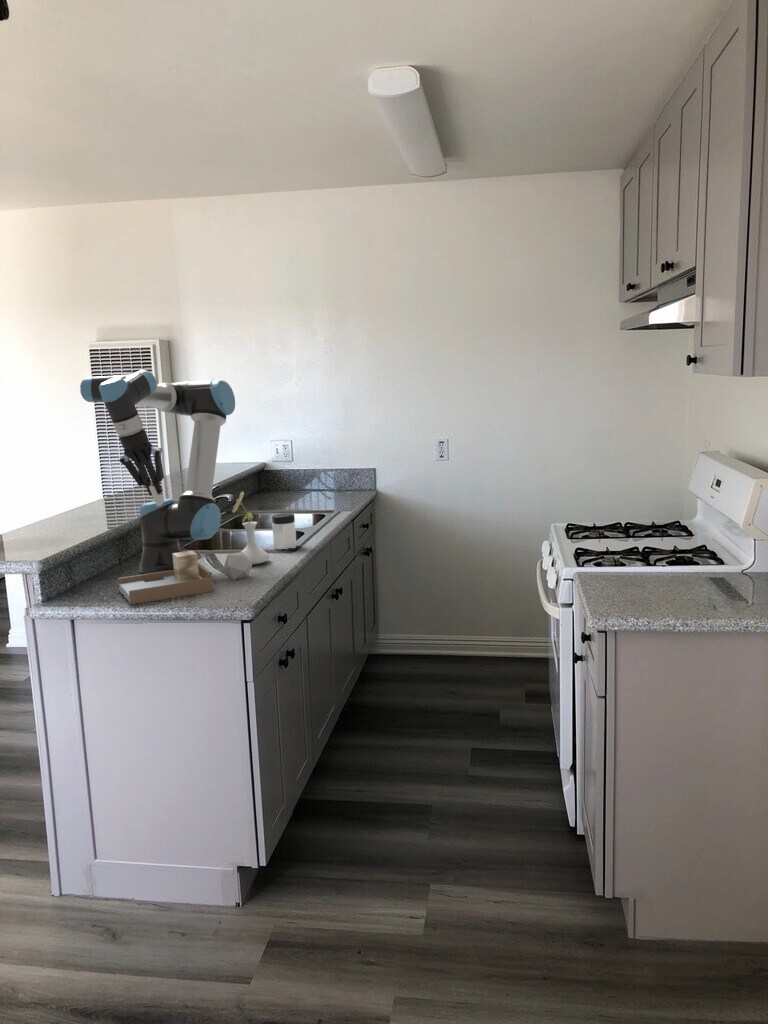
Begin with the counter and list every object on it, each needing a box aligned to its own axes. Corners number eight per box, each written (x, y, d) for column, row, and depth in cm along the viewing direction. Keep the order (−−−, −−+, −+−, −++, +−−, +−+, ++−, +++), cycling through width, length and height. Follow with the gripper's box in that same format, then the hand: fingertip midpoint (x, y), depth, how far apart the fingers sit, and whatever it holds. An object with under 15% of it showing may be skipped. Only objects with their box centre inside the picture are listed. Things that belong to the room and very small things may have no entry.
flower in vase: (247, 558, 284) (241, 487, 280) (276, 560, 279) (270, 487, 275) (226, 567, 272) (220, 493, 268) (256, 569, 268) (250, 493, 263)
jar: (296, 549, 295) (293, 516, 293) (273, 550, 295) (270, 517, 293) (297, 544, 304) (295, 512, 302) (275, 545, 304) (272, 513, 302)
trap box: (130, 604, 233) (128, 585, 232) (119, 591, 248) (117, 573, 247) (213, 590, 243) (212, 572, 242) (197, 578, 259) (196, 561, 258)
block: (179, 583, 244) (176, 556, 243) (174, 578, 250) (172, 553, 248) (199, 579, 247) (197, 553, 246) (194, 575, 252) (192, 550, 251)
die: (247, 574, 264) (227, 552, 262) (262, 564, 258) (242, 541, 257) (233, 589, 257) (213, 567, 256) (248, 579, 252) (227, 556, 250)
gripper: (105, 440, 233) (136, 513, 243) (147, 431, 230) (176, 505, 240) (115, 431, 240) (144, 502, 250) (156, 422, 237) (184, 494, 247)
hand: (160, 503), depth 245 cm, fingers closed
